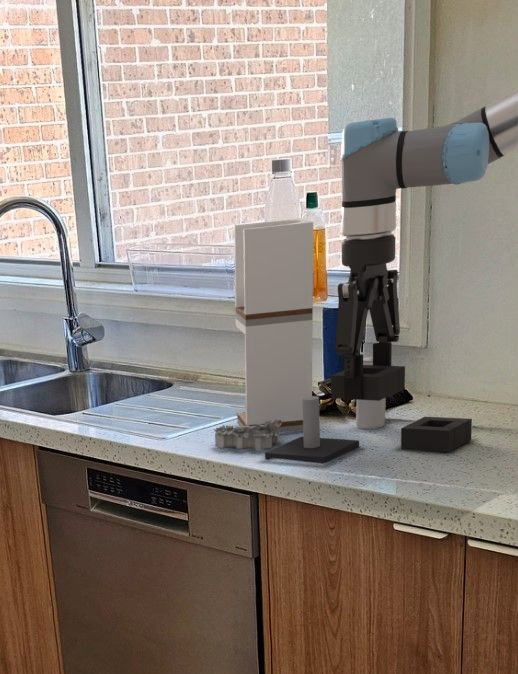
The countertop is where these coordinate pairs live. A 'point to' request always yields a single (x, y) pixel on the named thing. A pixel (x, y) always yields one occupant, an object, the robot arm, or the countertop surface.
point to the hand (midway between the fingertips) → (368, 391)
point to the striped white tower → (275, 318)
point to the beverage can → (370, 408)
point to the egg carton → (248, 435)
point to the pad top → (436, 434)
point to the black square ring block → (373, 382)
